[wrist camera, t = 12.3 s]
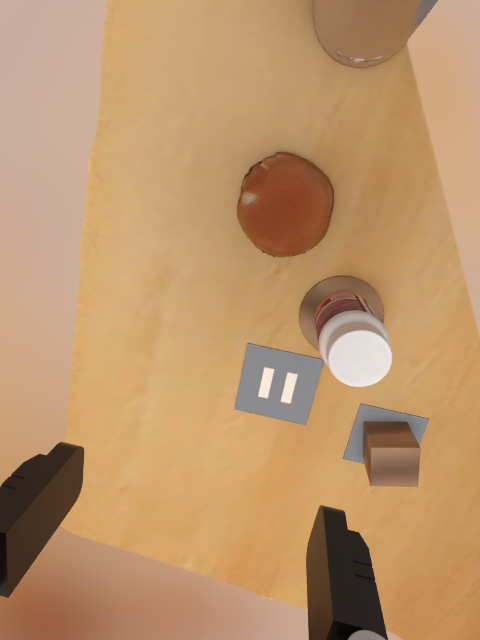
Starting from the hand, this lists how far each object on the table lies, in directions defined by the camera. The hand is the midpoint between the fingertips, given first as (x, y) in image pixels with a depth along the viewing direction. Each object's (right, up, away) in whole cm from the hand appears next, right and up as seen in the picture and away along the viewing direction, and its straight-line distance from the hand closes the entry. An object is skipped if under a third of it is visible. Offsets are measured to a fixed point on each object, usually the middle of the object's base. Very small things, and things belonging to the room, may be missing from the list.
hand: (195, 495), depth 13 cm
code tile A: (+6, -2, +34) cm, 35 cm away
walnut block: (+19, -9, +34) cm, 40 cm away
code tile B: (+19, -9, +34) cm, 40 cm away
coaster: (+13, +6, +30) cm, 33 cm away
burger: (+6, +18, +28) cm, 34 cm away
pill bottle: (+13, +6, +30) cm, 33 cm away
